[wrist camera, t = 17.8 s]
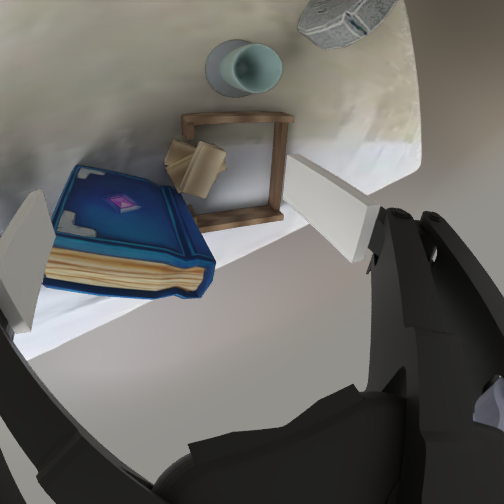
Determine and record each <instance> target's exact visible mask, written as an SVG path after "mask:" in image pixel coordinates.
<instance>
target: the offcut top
mask: <svg viewBox="0 0 504 504" xmlns="http://www.w3.org/2000/svg"><path fill="white" fill-rule="evenodd" d="M226 154H227V153H226V152H225V151H224V150H223V149H221V148H218V147H216V146H213V145H210V144H208V143H205V142H202V141H199V143H198V146H197V148H196V150H195V152H194V155H193V157H192V159H191V161H190V164H189V166H188V168H187V171H186V173H185V175H184V178H183V180H182V183H181V185H180V187H181V190H182V192H184V193H188V194H191V195H195V196H198V197H202V198H205V199H206V197H207V195H208V193H209V190H210V188H211V186H212V184H213V182H214V179H215V177H216V175H217V173H218V171H219V169H220V167H221V164H222V162H223V160H224V158H225V156H226Z"/></svg>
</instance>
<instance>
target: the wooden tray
mask: <svg viewBox="0 0 504 504" xmlns="http://www.w3.org/2000/svg"><path fill="white" fill-rule="evenodd" d="M243 122H275V129H274V142H273V154H272V166H271V178H270V190H269V202H268V205H266V206H258V207H251V208H243V209H236V210H229V211H222V212H215V213H208V214H202V215H196V214H195V212H194V210H193V208H192V206H191V205H189V206H187V207H188V209H189V211H190V213H191V215H192V217H193V219H194V221H195V222H196V224H197V226H198V228H199V230H200V232H201V233H206V232H212V231H218V230H224V229H230V228H236V227H242V226H249V225H255V224H261V223H268V222H274V221H281V220H283V218H284V215H283V214H282V213H281V212H280V211H279V210H280V201H281V192H282V182H283V172H284V162H285V152H286V142H287V131H288V123H294V116H292V115H289V114H286V113H282V112H215V113H197V114H184V115H182V135H183V136H184V137H185V138H186V140H192V139H194V125H201V124H217V123H243Z"/></svg>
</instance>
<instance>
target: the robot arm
mask: <svg viewBox="0 0 504 504" xmlns="http://www.w3.org/2000/svg"><path fill="white" fill-rule="evenodd" d="M283 200H285V201H286V202H287V203H288V204H289V205H290V206H291V207H292V208H293V209H295V210H296V211H297V212H298V213H299V214H300V215H301V216H302V217H303V218H304V219H306V220H307V221H308V222H309V223H310V224H311V225H312V226H313V227H314V228H315V229H316V230H317V231H319V232H320V233H321V234H322V235H323V236H324V237H325V238H326V239H327V240H328V241H329V242H330V243H331V244H332V245H333V246H334V247H335V248H336V249H337V250H339V252H341V253H342V254H343V255H344V256H345V257H346V258H347V259H348V260H349V261H350V262H351V263H355V262H359V261H362V260H364V259H365V256H366V253H367V250H368V248H369V249H370V250H371V251H372V252H373V255H372V258H371V261H370V264H369V267H368V270H367V273H366V274H369V272H370V271H371V284H372V315H371V316H372V317H371V347H370V364H369V377H368V384H367V387H366V390H365V392H359V391H358V390H357V389H356V387H355V386H354V384H352V385H350V386H348V387H345V388H343V389H341V390H339V391H337V392H335V393H333V394H331V395H329V396H327V397H324V398H322V399H320V400H318V401H317V402H316V403H315V404H313V405H312V406H311V407H310V408H308V409H307V410H306V411H304V412H303V413H302V414H301V415H299V416H298V417H297V418H295V419H294V420H292V421H291V422H290V423H288V424H287V425H285V426H283V427H279V428H271V429H262V430H251V431H239V432H231V433H228V434H224V435H221V436H217V437H214V438H210V439H206V440H202V441H198V442H194V443H190V444H188V446H189V449H190V452H191V453H189V454H187V455H185V456H184V457H182V458H180V459H179V460H177V461H176V462H175V463H173V464H172V465H171V466H170V467H168V468H167V469H166V470H165V471H164V472H163V473H162V475H161V476H160V477H159V478H158V480H157V481H156V483H155V484H154V485H153V484H152V483H151V482H149V481H148V480H146V479H145V478H143V477H142V476H141V475H139V474H138V473H136V472H135V471H134V470H132V469H130V468H129V467H128V466H127V465H125V464H124V463H123V462H122V461H120V460H119V459H118V458H117V457H115V456H114V455H113V454H112V453H111V452H110V451H108V450H107V449H106V448H105V447H104V446H103V445H102V444H100V443H99V442H98V441H97V440H96V439H95V438H94V437H93V436H92V435H91V434H90V433H88V432H87V431H86V429H84V428H83V427H82V426H81V425H80V424H79V423H78V422H77V421H76V420H75V419H74V417H73V416H72V415H71V414H70V413H69V412H68V411H67V410H66V409H65V408H64V407H63V406H62V404H61V403H59V401H58V400H57V399H56V398H55V397H54V395H53V394H52V393H51V392H50V391H49V390H48V388H47V387H46V386H45V385H44V383H43V382H42V381H41V380H40V378H39V377H38V376H37V375H36V373H35V372H34V371H33V369H32V368H31V366H30V365H29V364H28V362H27V361H26V360H25V358H24V357H23V355H22V354H21V353H20V351H19V350H18V348H17V347H16V345H15V344H14V342H13V339H14V334H18V333H25V332H31V328H32V323H33V318H34V313H35V308H36V303H37V299H38V295H39V291H40V287H41V283H42V279H43V276H44V272H45V269H46V265H47V262H48V259H49V255H50V252H51V249H52V246H53V243H54V240H55V237H56V235H55V232H54V229H53V226H52V222H51V219H50V215H49V212H48V208H47V204H46V200H45V196H44V192H43V189H40V190H36V191H33V192H30V193H29V195H28V196H27V197H26V199H25V200H24V202H23V203H22V205H21V206H20V208H19V209H18V211H17V212H16V214H15V215H14V217H13V218H12V220H11V221H10V223H9V225H8V226H7V228H6V230H5V231H4V233H3V235H2V236H1V238H0V416H1V417H2V419H3V421H4V422H5V424H6V425H7V427H8V429H9V430H10V432H11V433H12V435H13V436H14V438H15V439H16V441H17V442H18V444H19V445H20V447H21V448H22V449H23V451H24V452H25V454H26V455H27V456H28V458H29V459H30V460H31V462H32V463H33V464H34V465H35V467H36V468H37V470H38V474H37V476H36V478H37V480H38V482H39V484H40V485H41V487H42V488H43V489H44V491H45V492H46V493H47V494H48V495H49V496H50V497H51V499H52V500H53V501H54V502H55V503H56V504H504V297H503V296H502V294H501V293H500V291H499V290H498V288H497V287H496V285H495V284H494V282H493V281H492V279H491V278H490V276H489V275H488V274H487V272H486V271H485V269H484V268H483V267H482V265H481V264H480V263H479V261H478V260H477V259H476V257H475V256H474V255H473V253H472V252H471V251H470V249H469V248H468V247H467V246H466V244H465V243H464V242H463V241H462V239H461V238H460V237H459V236H458V235H457V233H456V232H455V231H454V230H453V229H452V227H451V226H450V225H449V224H448V223H447V222H446V220H445V219H443V218H442V217H441V216H440V215H439V214H437V213H435V212H429V211H424V212H423V213H422V216H421V219H420V221H419V220H414V219H413V217H412V216H411V215H410V214H409V213H407V212H406V211H404V210H402V209H399V208H388V209H387V210H386V209H384V208H383V207H381V206H380V204H379V203H377V202H376V201H374V200H373V199H371V198H370V197H368V196H367V195H365V194H364V193H362V192H361V191H359V190H358V189H356V188H355V187H353V186H352V185H350V184H348V183H347V182H345V181H344V180H342V179H340V178H339V177H337V176H335V175H334V174H332V173H331V172H329V171H327V170H325V169H324V168H322V167H320V166H319V165H317V164H315V163H314V162H312V161H310V160H308V159H307V158H305V157H303V156H301V155H299V154H288V155H287V161H286V171H285V180H284V190H283ZM436 249H437V257H436V259H435V262H434V261H433V260H432V258H433V256H434V253H435V251H436ZM499 375H500V376H501V377H500V378H499ZM0 504H26V502H25V500H24V498H23V496H22V495H21V493H20V491H19V489H18V487H17V485H16V483H15V481H14V479H13V477H12V475H11V472H10V470H9V468H8V465H7V463H6V461H5V459H4V456H3V454H2V451H1V449H0Z"/></svg>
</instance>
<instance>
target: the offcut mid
mask: <svg viewBox="0 0 504 504" xmlns="http://www.w3.org/2000/svg"><path fill="white" fill-rule="evenodd" d="M211 145H213V146H216V145H214V144H211ZM216 147H217V146H216ZM193 155H194V153H193V154H191V155H189V156H187V157H185V158H183V159H181V160H179V161H177V162H175V163H173V164H171V165H169V166H168V167H166V170H167V173H168V175H169V176H170V178H171V180H172V182H173V184H174V186H175V188H176V190H177V192H178V193H181V192H182V190H181V187H180V185H181V183H182V180H183V178H184V175H185V173H186V171H187V168H188V166H189V164H190V161H191V159H192V157H193ZM224 170H226V166H225V164H224V161H223V162H222V164H221V167H220V169H219V171H218V173H220V172H222V171H224ZM218 173H217V174H218Z"/></svg>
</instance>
